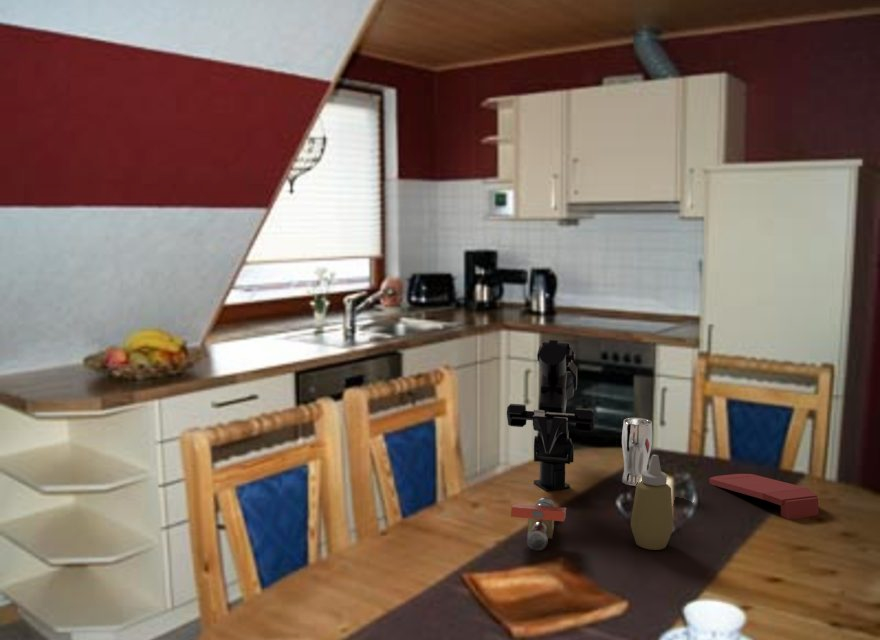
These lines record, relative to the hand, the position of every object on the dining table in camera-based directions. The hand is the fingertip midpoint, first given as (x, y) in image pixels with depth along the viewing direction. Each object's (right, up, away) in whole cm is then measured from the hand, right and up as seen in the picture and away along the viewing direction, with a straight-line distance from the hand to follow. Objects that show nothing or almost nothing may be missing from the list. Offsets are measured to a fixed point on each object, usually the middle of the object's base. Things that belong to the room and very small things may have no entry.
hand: (547, 452), depth 169 cm
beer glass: (+24, -11, +22) cm, 34 cm away
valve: (-2, -15, -8) cm, 17 cm away
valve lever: (-2, -10, -9) cm, 13 cm away
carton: (+51, -13, +13) cm, 54 cm away
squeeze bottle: (+18, -16, -14) cm, 28 cm away
